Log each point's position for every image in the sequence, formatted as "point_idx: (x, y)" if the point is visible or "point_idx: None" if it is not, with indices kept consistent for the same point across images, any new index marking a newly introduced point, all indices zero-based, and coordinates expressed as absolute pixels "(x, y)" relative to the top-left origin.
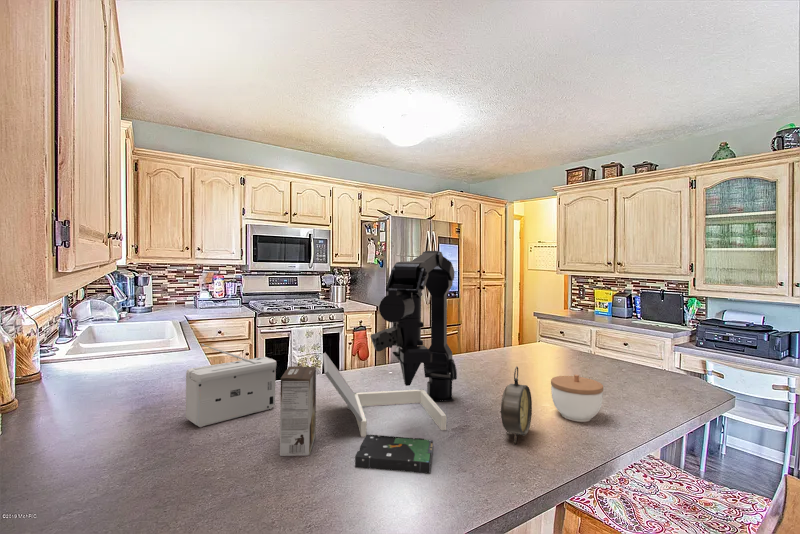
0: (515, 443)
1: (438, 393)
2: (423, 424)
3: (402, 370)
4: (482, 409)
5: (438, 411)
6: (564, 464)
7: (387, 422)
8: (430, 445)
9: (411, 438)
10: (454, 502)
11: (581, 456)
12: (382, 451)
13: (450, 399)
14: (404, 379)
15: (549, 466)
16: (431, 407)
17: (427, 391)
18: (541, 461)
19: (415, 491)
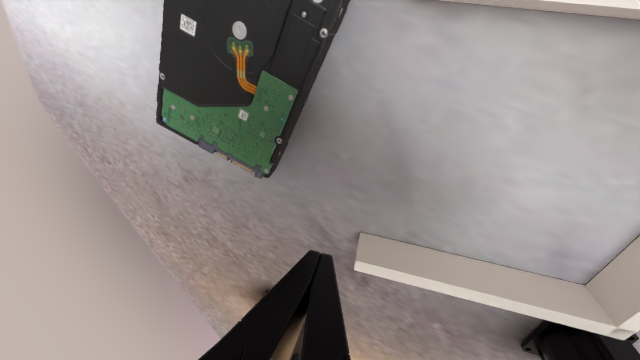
0: (264, 292)
1: (565, 347)
2: (417, 216)
3: (304, 343)
4: (428, 346)
5: (390, 270)
6: (204, 294)
7: (500, 126)
8: (238, 162)
9: (281, 134)
10: (91, 112)
11: (222, 319)
12: (207, 8)
13: (526, 344)
14: (296, 276)
15: (199, 280)
16: (457, 277)
17: (626, 342)
18: (212, 282)
19: (107, 54)
